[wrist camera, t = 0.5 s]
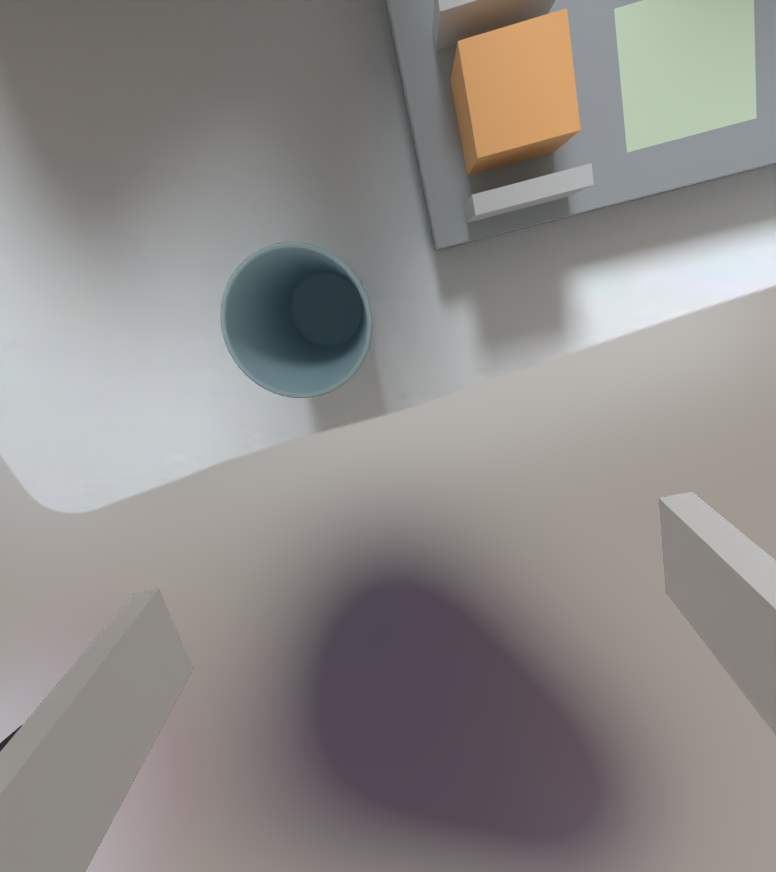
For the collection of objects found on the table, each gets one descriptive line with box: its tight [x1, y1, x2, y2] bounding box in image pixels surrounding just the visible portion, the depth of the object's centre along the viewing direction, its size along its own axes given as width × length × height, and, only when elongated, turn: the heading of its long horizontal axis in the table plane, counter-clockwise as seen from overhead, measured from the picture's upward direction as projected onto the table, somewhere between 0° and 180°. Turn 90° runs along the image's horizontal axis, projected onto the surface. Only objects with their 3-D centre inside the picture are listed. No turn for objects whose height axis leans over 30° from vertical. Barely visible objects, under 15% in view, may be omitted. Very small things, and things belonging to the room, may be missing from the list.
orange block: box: [450, 8, 581, 176], centre depth 27 cm, size 5×5×5 cm
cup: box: [221, 242, 372, 398], centre depth 31 cm, size 8×8×10 cm
